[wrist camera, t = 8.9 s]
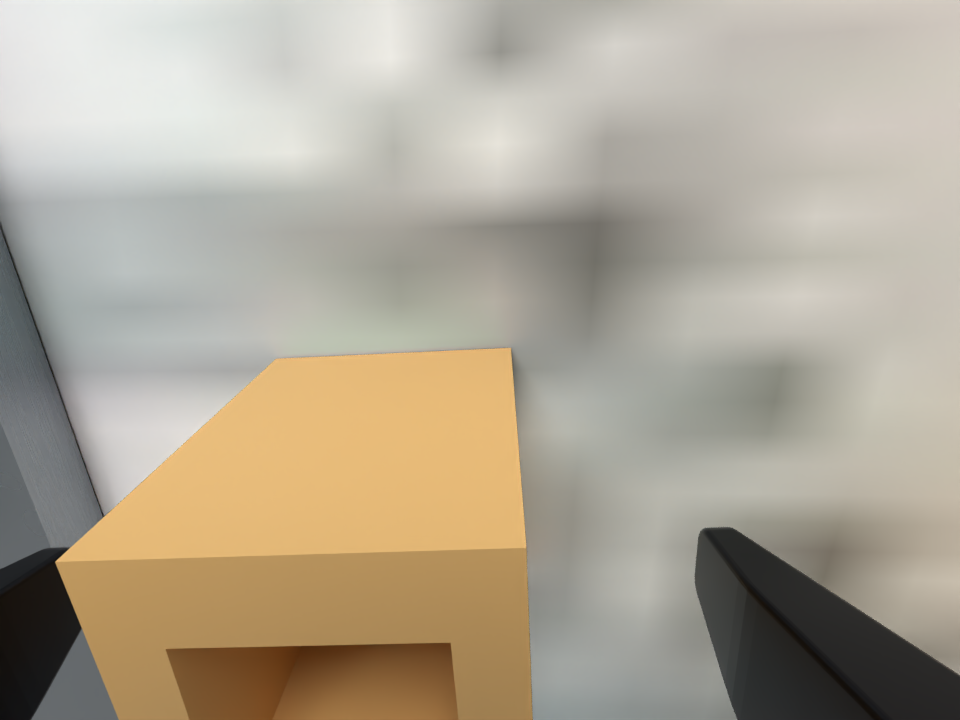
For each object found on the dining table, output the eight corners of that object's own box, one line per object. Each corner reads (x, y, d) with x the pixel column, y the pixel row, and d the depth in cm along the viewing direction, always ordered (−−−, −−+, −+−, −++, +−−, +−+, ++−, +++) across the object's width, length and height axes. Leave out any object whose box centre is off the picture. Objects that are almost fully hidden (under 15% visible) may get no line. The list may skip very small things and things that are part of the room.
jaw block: (520, 568, 11) (538, 886, 6) (319, 574, 11) (187, 887, 6) (511, 348, 9) (526, 547, 4) (276, 358, 9) (54, 562, 5)
